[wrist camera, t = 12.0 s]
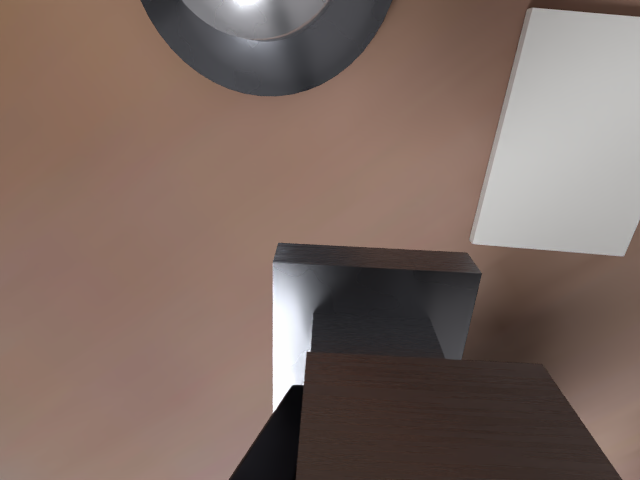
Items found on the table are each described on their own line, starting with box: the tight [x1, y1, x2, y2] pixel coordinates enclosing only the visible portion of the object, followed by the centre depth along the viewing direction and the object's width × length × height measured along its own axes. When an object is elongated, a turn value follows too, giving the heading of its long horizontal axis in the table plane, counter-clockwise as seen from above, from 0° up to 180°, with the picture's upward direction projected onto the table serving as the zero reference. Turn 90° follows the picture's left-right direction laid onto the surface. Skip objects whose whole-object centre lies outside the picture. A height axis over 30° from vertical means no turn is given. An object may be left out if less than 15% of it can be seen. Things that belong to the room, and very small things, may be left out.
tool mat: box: [469, 8, 640, 256], centre depth 18 cm, size 10×7×1 cm
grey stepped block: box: [273, 243, 622, 480], centre depth 7 cm, size 7×4×7 cm, turn 177°
